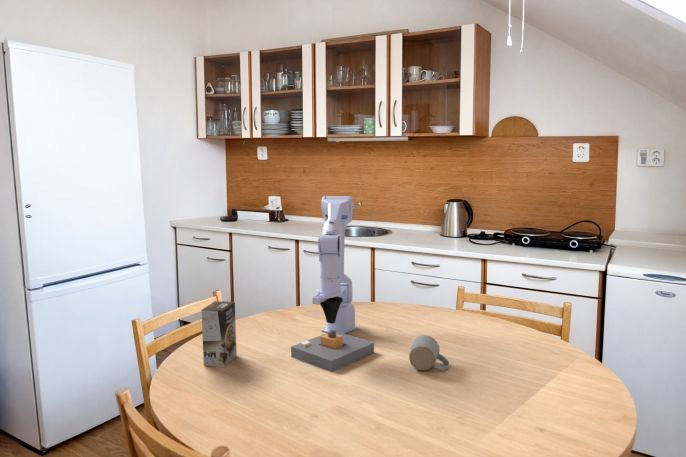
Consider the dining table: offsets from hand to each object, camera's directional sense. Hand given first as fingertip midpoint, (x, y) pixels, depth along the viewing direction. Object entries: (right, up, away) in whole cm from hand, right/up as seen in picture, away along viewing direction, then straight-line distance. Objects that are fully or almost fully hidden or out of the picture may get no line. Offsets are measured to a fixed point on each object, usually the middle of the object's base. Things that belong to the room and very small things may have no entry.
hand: (330, 322), depth 154 cm
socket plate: (+1, -9, +1) cm, 9 cm away
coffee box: (-31, -10, -3) cm, 33 cm away
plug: (0, -9, +1) cm, 9 cm away
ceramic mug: (+27, -11, -8) cm, 30 cm away
